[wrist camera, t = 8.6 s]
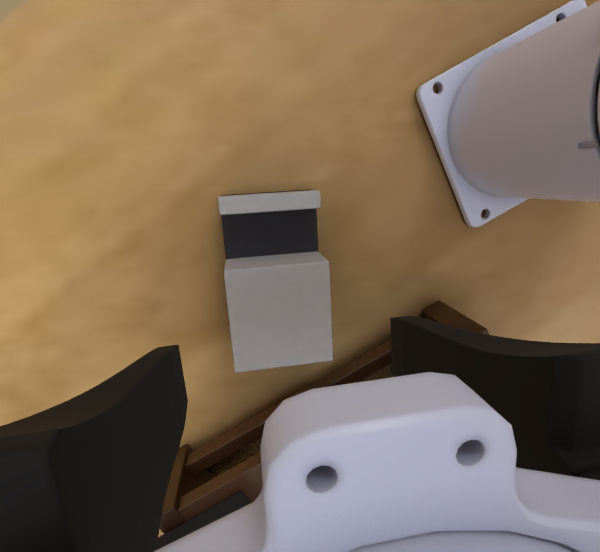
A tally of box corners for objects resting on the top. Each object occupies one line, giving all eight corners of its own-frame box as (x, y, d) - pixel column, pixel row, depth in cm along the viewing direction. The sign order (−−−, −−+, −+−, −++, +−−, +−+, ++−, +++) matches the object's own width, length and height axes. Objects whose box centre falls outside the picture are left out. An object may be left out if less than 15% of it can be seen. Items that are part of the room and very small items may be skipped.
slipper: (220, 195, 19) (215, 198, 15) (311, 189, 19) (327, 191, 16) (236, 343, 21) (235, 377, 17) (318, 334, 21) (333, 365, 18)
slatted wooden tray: (439, 299, 22) (487, 328, 18) (495, 425, 25) (548, 476, 21) (169, 453, 22) (151, 520, 18) (256, 562, 25) (259, 642, 20)
